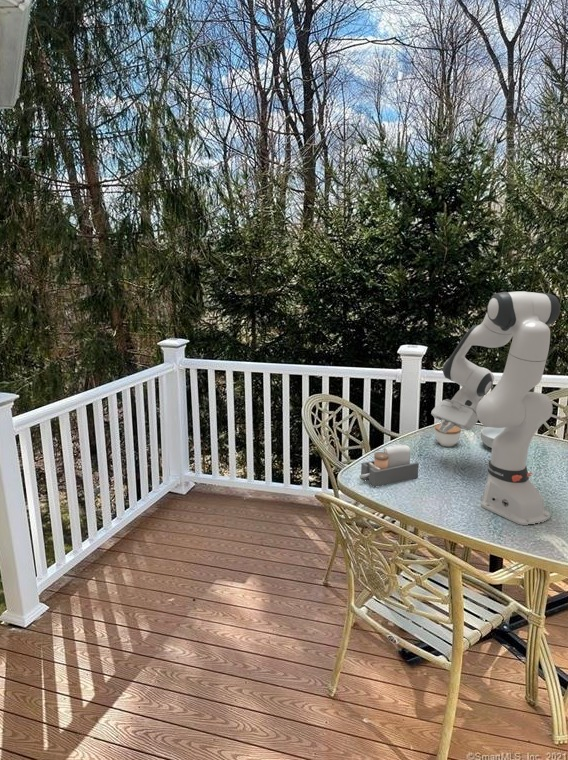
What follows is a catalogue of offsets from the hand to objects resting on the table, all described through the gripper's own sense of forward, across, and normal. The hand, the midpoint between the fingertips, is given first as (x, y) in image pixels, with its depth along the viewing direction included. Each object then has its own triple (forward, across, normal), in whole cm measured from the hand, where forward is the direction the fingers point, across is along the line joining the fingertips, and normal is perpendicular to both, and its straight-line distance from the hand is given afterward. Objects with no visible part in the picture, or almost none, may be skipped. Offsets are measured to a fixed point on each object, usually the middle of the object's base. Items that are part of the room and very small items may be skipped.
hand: (441, 431), depth 207 cm
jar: (+30, -2, -8) cm, 31 cm away
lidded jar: (-4, -20, +24) cm, 32 cm away
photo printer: (+25, -2, -2) cm, 25 cm away
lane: (+26, -2, -4) cm, 27 cm away
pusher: (+34, -2, -12) cm, 36 cm away
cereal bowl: (-16, -7, +38) cm, 42 cm away
